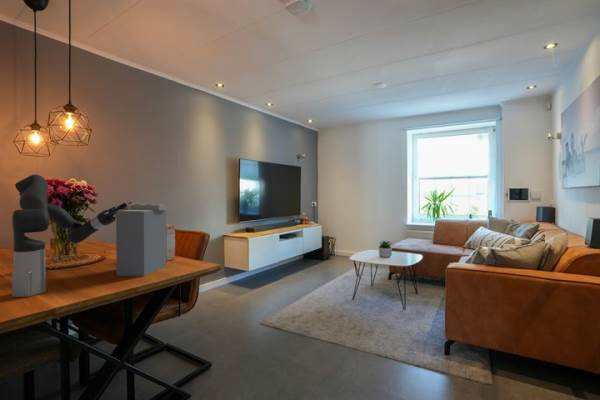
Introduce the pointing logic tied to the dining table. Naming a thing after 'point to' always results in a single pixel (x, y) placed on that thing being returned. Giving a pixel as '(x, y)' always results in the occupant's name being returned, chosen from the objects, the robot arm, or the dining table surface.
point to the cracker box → (170, 242)
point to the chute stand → (141, 240)
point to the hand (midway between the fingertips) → (129, 203)
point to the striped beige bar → (138, 204)
